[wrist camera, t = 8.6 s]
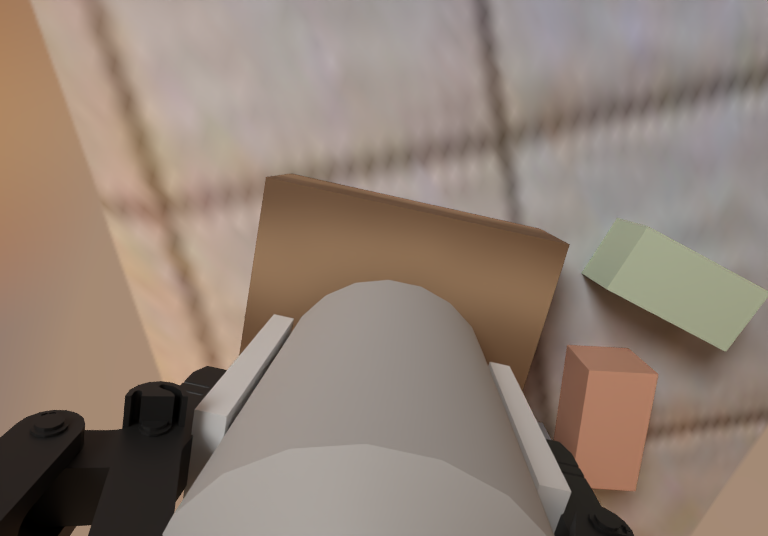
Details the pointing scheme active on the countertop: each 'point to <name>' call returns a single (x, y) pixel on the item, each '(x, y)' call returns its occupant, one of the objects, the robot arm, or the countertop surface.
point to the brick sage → (674, 283)
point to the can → (370, 432)
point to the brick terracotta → (605, 413)
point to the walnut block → (402, 261)
